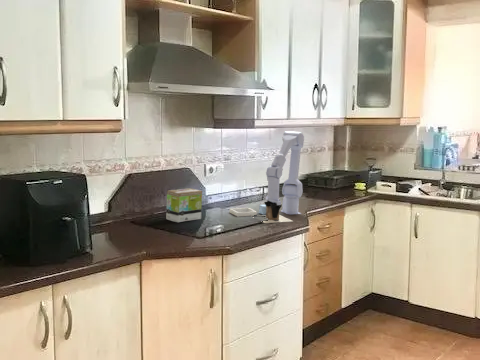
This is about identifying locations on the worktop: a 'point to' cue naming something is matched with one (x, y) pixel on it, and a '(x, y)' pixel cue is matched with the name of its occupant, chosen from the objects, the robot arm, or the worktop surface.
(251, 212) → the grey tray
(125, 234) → the worktop surface
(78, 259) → the worktop surface
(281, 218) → the letter board
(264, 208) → the blue cube
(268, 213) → the walnut block
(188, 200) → the tea box
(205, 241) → the worktop surface
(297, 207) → the robot arm
